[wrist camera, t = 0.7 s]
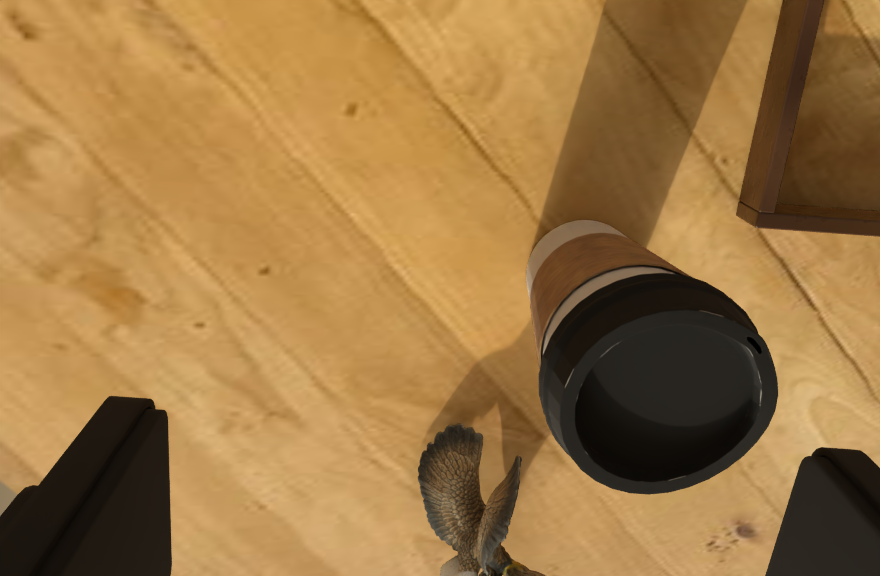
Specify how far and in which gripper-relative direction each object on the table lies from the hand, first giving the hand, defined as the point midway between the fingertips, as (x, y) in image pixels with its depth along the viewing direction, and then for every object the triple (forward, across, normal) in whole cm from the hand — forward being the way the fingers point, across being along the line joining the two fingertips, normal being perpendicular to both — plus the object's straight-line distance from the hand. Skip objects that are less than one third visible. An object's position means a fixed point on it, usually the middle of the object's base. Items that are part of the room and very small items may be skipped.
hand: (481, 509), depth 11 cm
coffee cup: (+29, -8, +6) cm, 31 cm away
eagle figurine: (+29, -5, +20) cm, 35 cm away
